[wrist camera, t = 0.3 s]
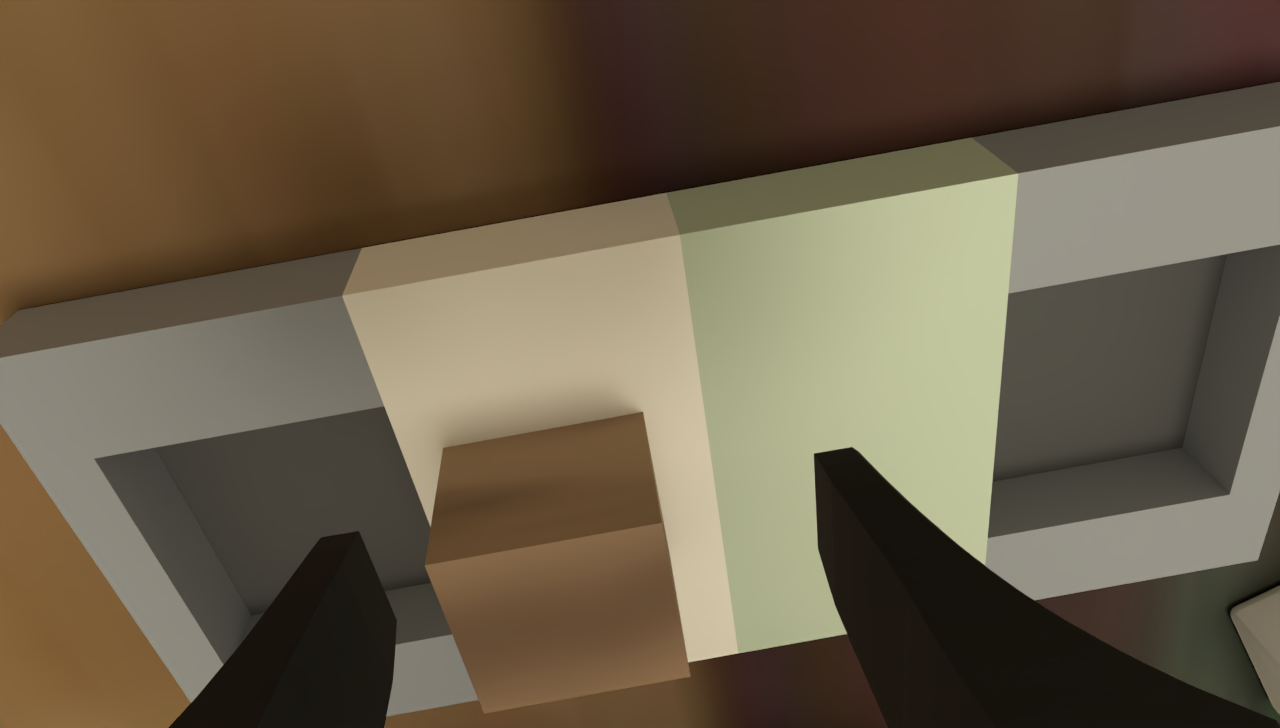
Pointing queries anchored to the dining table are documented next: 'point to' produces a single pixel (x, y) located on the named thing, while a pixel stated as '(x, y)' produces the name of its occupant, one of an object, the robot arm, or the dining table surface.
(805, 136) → the dining table surface
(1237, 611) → the medicine bottle
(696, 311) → the trap lane
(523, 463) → the walnut block
